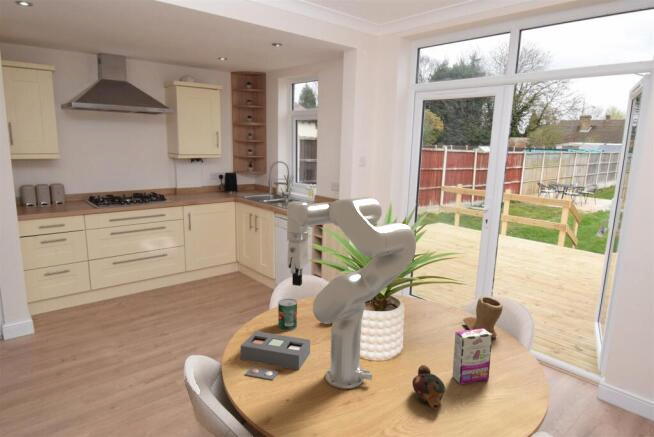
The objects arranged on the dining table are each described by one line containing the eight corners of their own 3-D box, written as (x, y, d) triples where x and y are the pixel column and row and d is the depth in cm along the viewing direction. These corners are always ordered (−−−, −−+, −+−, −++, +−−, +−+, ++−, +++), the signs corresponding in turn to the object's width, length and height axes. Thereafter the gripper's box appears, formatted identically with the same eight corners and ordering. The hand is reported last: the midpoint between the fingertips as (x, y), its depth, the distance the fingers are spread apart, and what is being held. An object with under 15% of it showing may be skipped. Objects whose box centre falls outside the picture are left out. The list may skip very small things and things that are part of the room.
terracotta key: (266, 347, 150) (266, 341, 150) (261, 353, 146) (261, 346, 146) (255, 345, 152) (255, 339, 151) (250, 351, 147) (250, 344, 147)
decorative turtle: (432, 383, 133) (435, 361, 131) (452, 416, 118) (456, 392, 116) (403, 383, 131) (406, 361, 129) (420, 417, 117) (424, 393, 115)
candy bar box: (479, 372, 140) (483, 327, 137) (489, 380, 135) (493, 334, 132) (450, 376, 137) (454, 330, 134) (459, 384, 132) (463, 337, 129)
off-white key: (302, 353, 147) (302, 347, 146) (297, 359, 143) (297, 353, 142) (290, 351, 148) (290, 345, 147) (286, 357, 144) (286, 351, 143)
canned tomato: (274, 326, 172) (274, 301, 170) (289, 321, 177) (289, 297, 175) (285, 332, 166) (285, 307, 164) (300, 327, 171) (301, 302, 169)
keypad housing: (310, 353, 150) (310, 339, 149) (298, 370, 139) (299, 355, 138) (255, 344, 156) (255, 331, 155) (240, 359, 145) (240, 345, 144)
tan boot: (504, 340, 163) (508, 305, 161) (475, 340, 163) (478, 305, 160) (488, 324, 178) (492, 291, 175) (462, 323, 178) (464, 291, 175)
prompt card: (278, 372, 137) (278, 370, 137) (272, 380, 132) (272, 378, 132) (251, 367, 140) (251, 365, 140) (244, 375, 135) (244, 373, 135)
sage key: (284, 346, 148) (284, 340, 148) (279, 352, 144) (279, 346, 144) (272, 345, 150) (272, 339, 149) (267, 350, 145) (267, 344, 145)
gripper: (300, 241, 138) (299, 293, 141) (313, 232, 152) (313, 279, 155) (279, 239, 140) (279, 290, 143) (295, 231, 154) (294, 277, 157)
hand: (297, 284), depth 149 cm, fingers closed
